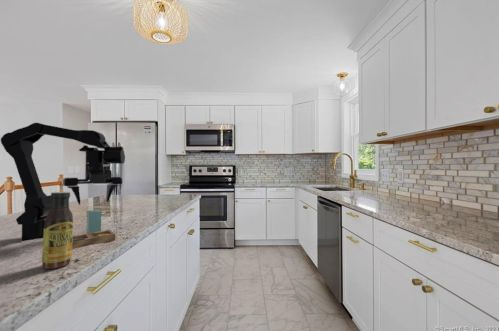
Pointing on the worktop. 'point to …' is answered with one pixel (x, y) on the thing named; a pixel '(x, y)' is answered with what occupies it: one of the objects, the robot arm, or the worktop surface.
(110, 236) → the socket box
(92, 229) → the plug
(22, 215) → the robot arm
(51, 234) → the sauce bottle
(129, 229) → the worktop surface
